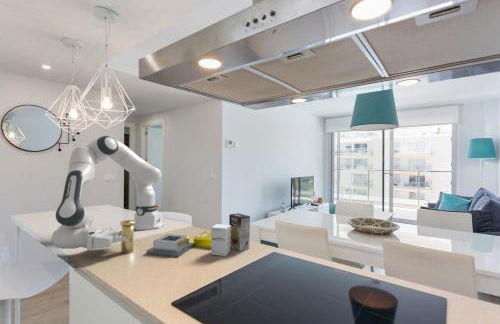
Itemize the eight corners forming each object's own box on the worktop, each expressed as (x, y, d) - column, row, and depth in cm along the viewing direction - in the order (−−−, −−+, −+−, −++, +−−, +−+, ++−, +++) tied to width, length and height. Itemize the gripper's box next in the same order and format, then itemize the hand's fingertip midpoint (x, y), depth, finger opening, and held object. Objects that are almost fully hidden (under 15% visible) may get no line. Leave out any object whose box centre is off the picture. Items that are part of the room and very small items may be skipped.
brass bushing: (126, 249, 122) (126, 219, 122) (137, 250, 120) (138, 220, 120) (116, 253, 116) (117, 222, 116) (128, 254, 114) (129, 223, 114)
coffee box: (228, 246, 128) (228, 214, 128) (238, 244, 132) (238, 212, 132) (239, 251, 121) (240, 217, 121) (250, 248, 126) (250, 215, 126)
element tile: (219, 250, 124) (219, 240, 124) (191, 246, 128) (191, 237, 128) (230, 241, 138) (230, 232, 138) (205, 238, 143) (205, 229, 143)
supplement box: (210, 255, 116) (210, 227, 116) (216, 249, 123) (216, 223, 123) (225, 256, 114) (226, 228, 114) (230, 251, 121) (231, 224, 121)
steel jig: (165, 243, 131) (165, 232, 131) (194, 246, 128) (194, 235, 128) (146, 253, 116) (146, 241, 116) (178, 257, 112) (178, 244, 112)
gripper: (102, 237, 125) (133, 236, 128) (85, 251, 105) (122, 249, 108) (103, 224, 125) (133, 223, 128) (86, 236, 105) (122, 234, 108)
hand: (128, 235), depth 118 cm, fingers open, 8 cm apart
